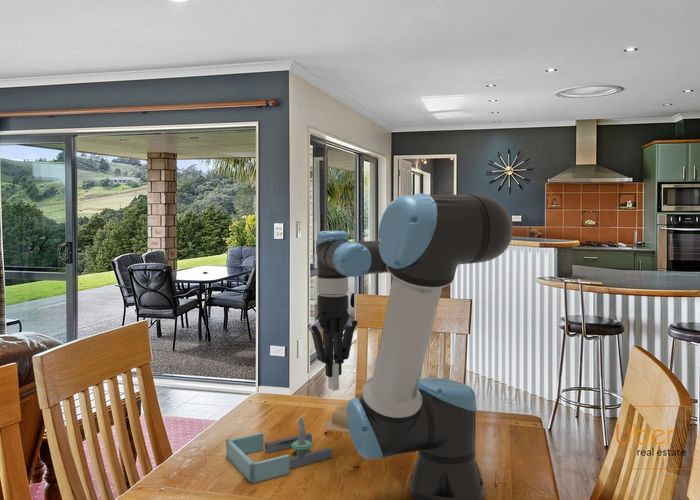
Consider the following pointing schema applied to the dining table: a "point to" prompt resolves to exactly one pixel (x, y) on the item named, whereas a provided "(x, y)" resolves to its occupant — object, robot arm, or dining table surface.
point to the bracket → (258, 469)
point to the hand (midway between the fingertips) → (333, 388)
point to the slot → (302, 458)
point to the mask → (338, 420)
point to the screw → (301, 440)
